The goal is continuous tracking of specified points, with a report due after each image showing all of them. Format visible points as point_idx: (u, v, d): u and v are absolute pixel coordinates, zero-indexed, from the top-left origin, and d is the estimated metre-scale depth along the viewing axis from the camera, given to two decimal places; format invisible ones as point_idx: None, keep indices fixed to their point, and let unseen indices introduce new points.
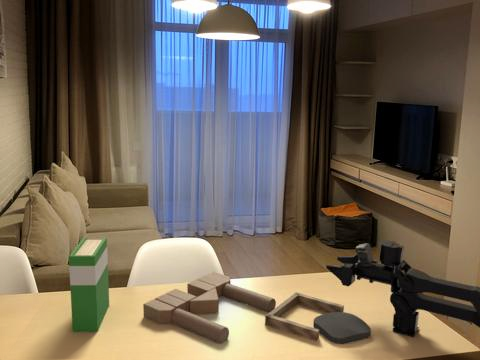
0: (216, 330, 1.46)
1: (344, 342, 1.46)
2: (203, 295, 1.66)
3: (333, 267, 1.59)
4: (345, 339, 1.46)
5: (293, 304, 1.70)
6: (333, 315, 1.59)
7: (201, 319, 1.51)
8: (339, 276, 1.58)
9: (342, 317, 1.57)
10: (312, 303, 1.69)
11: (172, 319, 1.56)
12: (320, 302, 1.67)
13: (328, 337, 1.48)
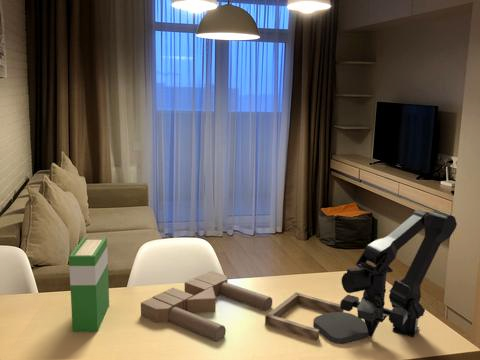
0: (213, 328, 1.47)
1: (344, 342, 1.46)
2: (200, 294, 1.67)
3: (374, 329, 1.48)
4: (345, 339, 1.46)
5: (293, 304, 1.70)
6: (333, 315, 1.59)
7: (198, 318, 1.52)
8: None
9: (342, 317, 1.57)
10: (312, 303, 1.69)
11: (169, 317, 1.57)
12: (320, 302, 1.67)
13: (328, 337, 1.48)
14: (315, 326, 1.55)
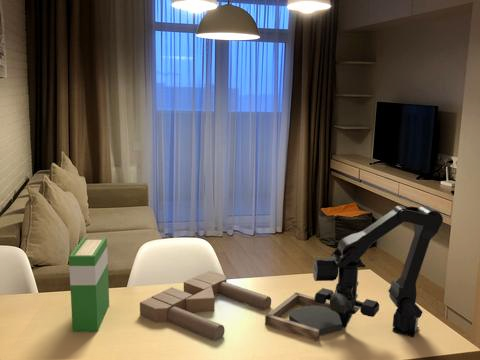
0: (212, 327, 1.47)
1: None
2: (199, 293, 1.67)
3: (347, 321, 1.52)
4: (319, 331, 1.50)
5: (293, 304, 1.70)
6: (308, 308, 1.63)
7: (197, 317, 1.52)
8: None
9: (317, 310, 1.61)
10: (312, 303, 1.69)
11: (168, 317, 1.57)
12: None
13: None
14: (291, 319, 1.58)
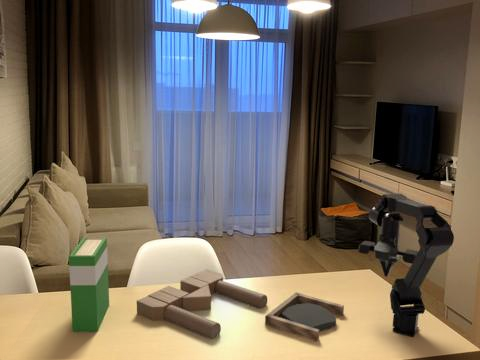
0: (208, 325, 1.48)
1: None
2: (196, 292, 1.68)
3: (389, 269, 1.65)
4: None
5: (293, 304, 1.70)
6: (300, 306, 1.64)
7: (193, 315, 1.53)
8: None
9: (309, 308, 1.63)
10: (312, 303, 1.69)
11: (165, 315, 1.58)
12: (320, 302, 1.67)
13: None
14: (283, 318, 1.59)
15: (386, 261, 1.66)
